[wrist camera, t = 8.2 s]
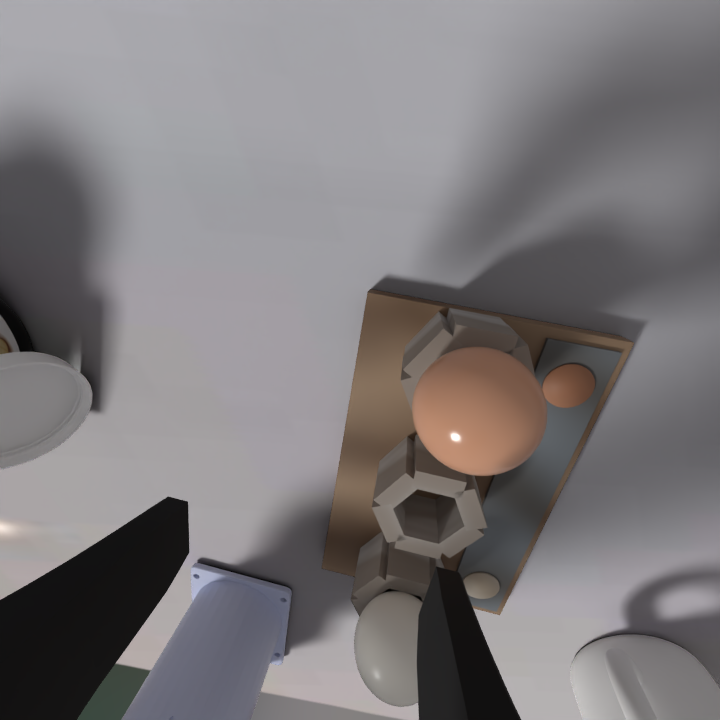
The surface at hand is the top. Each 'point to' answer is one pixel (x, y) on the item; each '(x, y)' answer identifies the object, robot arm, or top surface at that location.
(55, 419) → the spread jar
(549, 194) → the top surface
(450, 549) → the brown egg holder tray
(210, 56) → the top surface
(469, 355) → the terracotta ball
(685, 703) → the mug
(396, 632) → the cream ball
